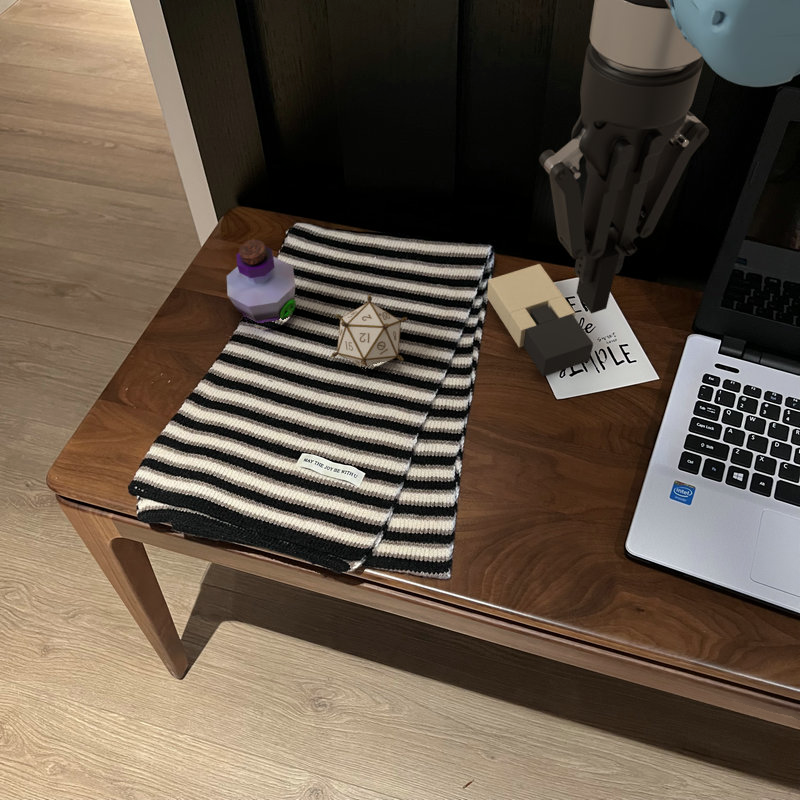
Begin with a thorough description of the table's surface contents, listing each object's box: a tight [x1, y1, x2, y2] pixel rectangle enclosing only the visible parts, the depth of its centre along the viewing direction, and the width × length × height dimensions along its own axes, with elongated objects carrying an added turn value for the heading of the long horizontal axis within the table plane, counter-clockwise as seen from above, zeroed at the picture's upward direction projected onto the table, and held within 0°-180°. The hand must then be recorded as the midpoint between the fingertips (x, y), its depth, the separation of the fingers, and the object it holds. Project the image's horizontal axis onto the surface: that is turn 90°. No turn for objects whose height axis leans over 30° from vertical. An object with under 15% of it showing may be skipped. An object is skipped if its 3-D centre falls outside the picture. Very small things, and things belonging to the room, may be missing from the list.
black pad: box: [523, 305, 594, 377], centre depth 91 cm, size 8×6×4 cm
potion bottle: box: [226, 238, 297, 323], centre depth 93 cm, size 9×9×12 cm
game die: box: [330, 293, 408, 370], centre depth 90 cm, size 9×8×10 cm
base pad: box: [486, 263, 576, 348], centre depth 94 cm, size 9×7×4 cm
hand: (591, 300), depth 69 cm, fingers closed
